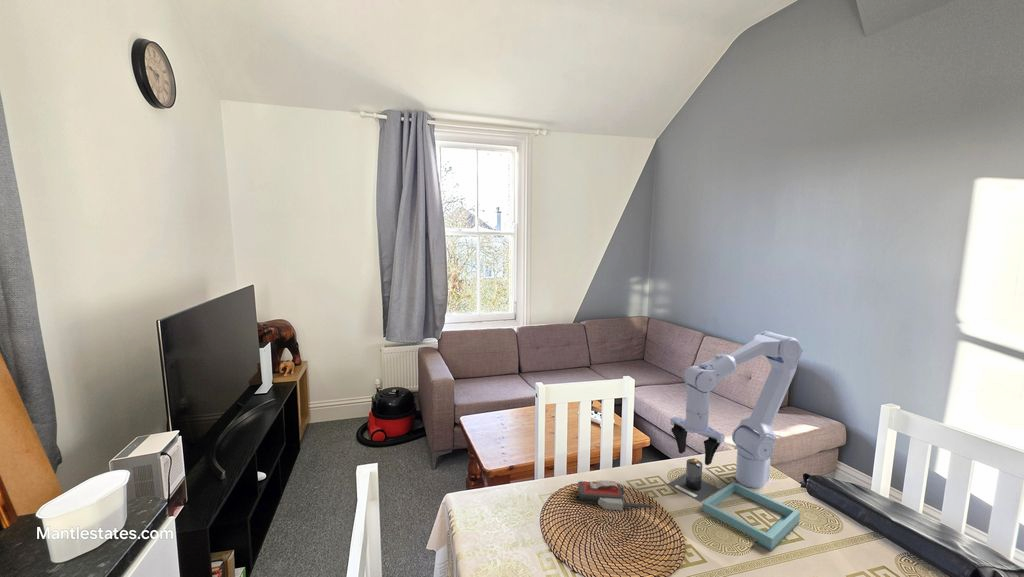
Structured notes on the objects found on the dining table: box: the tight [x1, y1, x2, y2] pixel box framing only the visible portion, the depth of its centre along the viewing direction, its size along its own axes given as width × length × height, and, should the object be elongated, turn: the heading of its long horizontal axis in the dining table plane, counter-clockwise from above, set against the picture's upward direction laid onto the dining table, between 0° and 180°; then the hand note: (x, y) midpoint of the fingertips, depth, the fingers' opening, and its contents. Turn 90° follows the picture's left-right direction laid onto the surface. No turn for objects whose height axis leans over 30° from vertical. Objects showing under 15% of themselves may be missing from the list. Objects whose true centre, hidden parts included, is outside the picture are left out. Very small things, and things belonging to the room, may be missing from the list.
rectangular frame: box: [701, 481, 801, 552], centre depth 103 cm, size 16×16×3 cm
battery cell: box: [685, 458, 703, 491], centre depth 114 cm, size 4×4×8 cm
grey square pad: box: [666, 472, 720, 503], centre depth 115 cm, size 10×10×1 cm
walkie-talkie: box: [574, 480, 655, 512], centre depth 110 cm, size 9×4×20 cm
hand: (694, 457), depth 114 cm, fingers open, 7 cm apart
